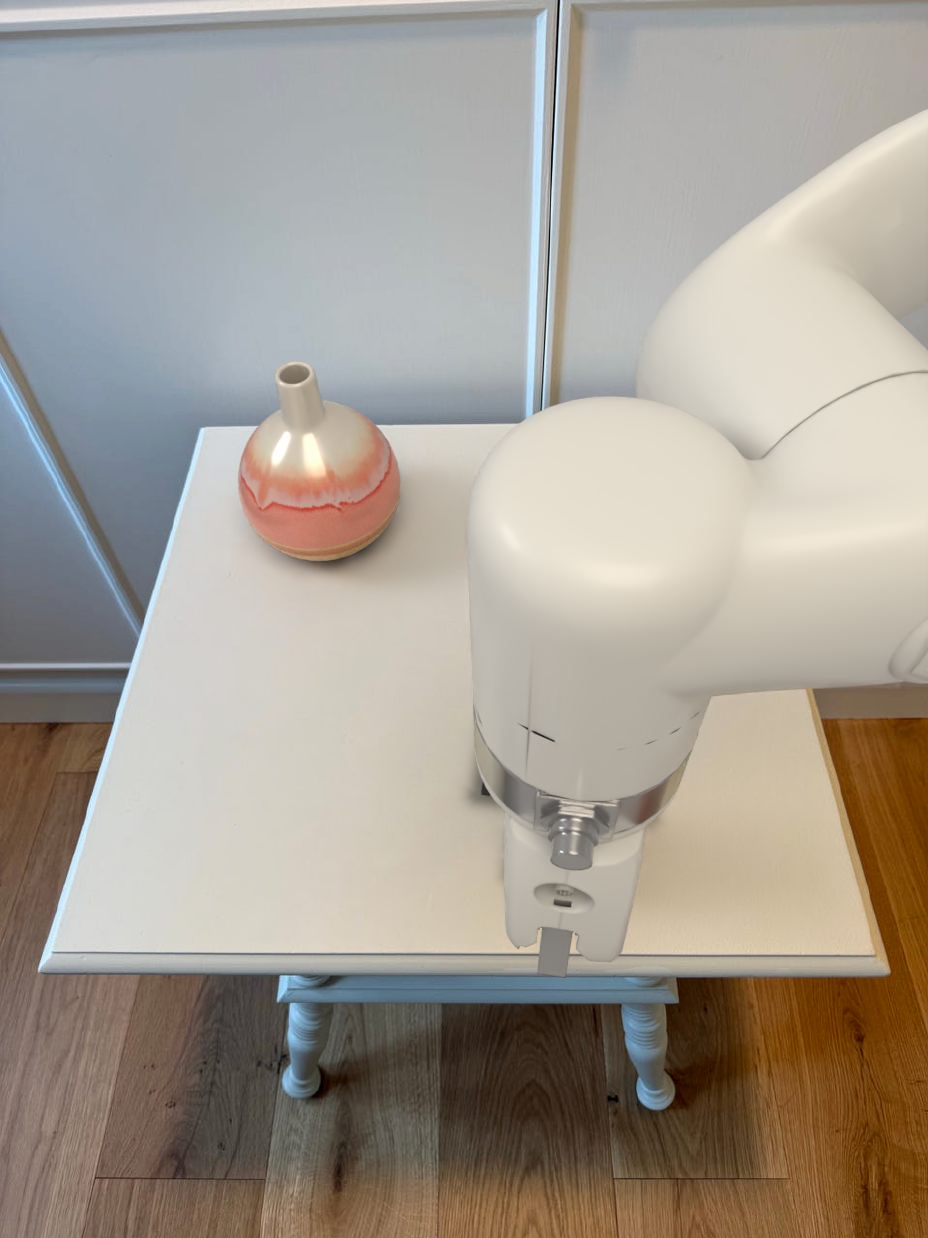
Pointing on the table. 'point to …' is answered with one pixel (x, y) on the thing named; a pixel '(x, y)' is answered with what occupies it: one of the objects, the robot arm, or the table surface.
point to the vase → (317, 473)
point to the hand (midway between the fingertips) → (554, 902)
